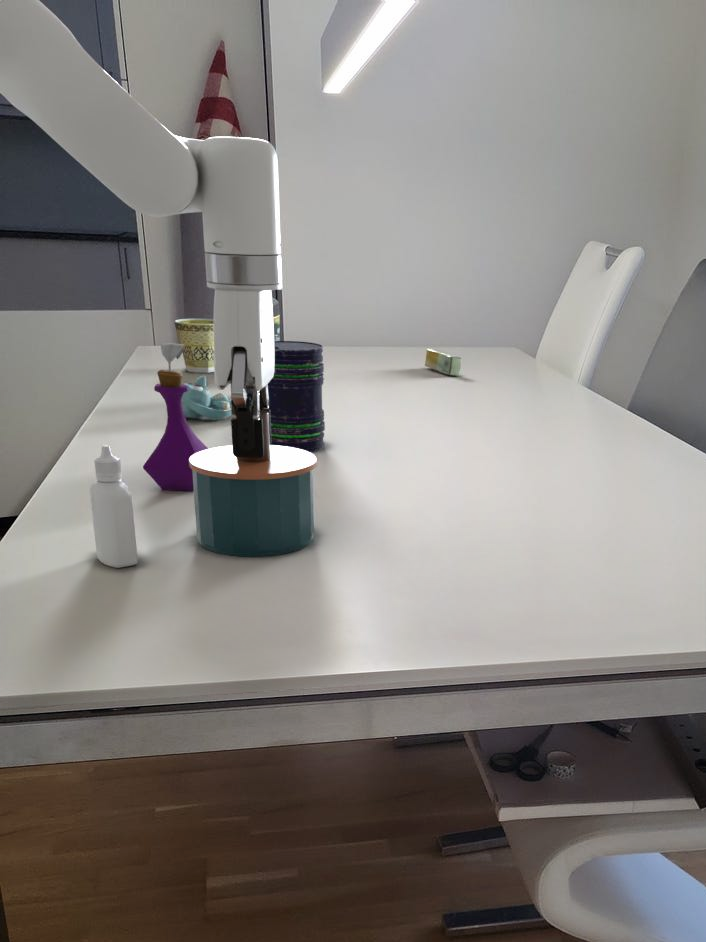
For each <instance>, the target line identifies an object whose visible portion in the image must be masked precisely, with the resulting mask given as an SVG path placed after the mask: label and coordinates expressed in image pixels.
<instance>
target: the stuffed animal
mask: <svg viewBox="0 0 706 942" xmlns="http://www.w3.org/2000/svg"><path fill="white" fill-rule="evenodd" d="M207 379H208V378H207V376H206V375H202V376H199V377H198V378H196V379H195V381H194V383H192V382H186V383H184V384H185V385H187V386H188V391H187V392H184V394H183V396H182V399H181V401H182V408H183V412H184V416H185V418H186V419H199V418H202V417H204V418H205V419H208V420H211V421H215V422H216V421H222V420H225V419H227V418H229V417H231V399H228V397H227V395H226V394H225V393H223V392H218V393H216V394H214V395H212V396H211V393H210V387H208V386H207Z"/></svg>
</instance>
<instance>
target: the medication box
mask: <svg viewBox="0 0 706 942" xmlns="http://www.w3.org/2000/svg"><path fill="white" fill-rule="evenodd" d="M462 361H463V357H460V356H457V355H454V354H450V353H448V352H445V351H441V350H438V349H433V348H427V349H426V354H425V361H424V367H426V368H429V369H432V370H435V371H436V372H437V371H438V372H440V373H442V374H446V375H448V376H452V377H460V374H461V367H462Z"/></svg>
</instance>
